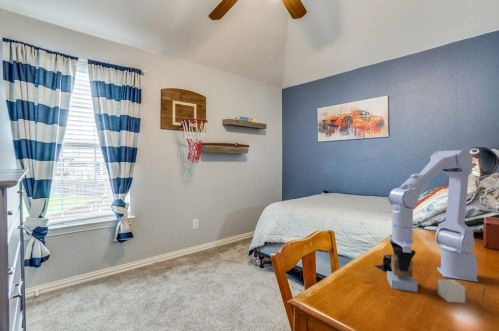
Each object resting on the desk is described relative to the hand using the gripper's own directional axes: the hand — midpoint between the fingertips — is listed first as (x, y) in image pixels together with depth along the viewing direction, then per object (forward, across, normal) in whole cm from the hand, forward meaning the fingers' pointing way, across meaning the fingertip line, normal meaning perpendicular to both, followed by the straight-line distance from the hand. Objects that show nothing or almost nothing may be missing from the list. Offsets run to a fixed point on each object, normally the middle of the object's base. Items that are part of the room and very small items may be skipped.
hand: (401, 267), depth 83 cm
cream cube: (+6, +4, +12) cm, 14 cm away
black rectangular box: (+6, -14, -1) cm, 16 cm away
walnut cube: (+2, 0, 0) cm, 2 cm away
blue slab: (+6, 0, 0) cm, 6 cm away
